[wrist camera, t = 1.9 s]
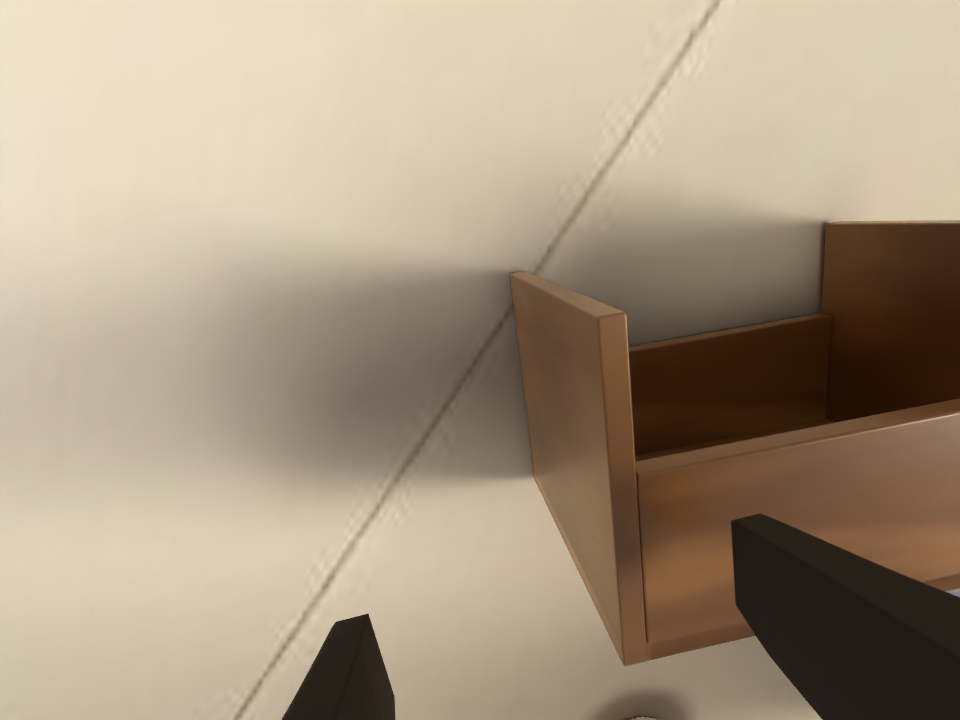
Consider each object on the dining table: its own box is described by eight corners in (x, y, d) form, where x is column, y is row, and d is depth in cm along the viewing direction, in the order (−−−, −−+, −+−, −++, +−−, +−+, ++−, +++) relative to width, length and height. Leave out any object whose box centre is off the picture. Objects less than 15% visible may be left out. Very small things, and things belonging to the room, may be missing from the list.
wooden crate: (535, 480, 20) (509, 273, 18) (827, 423, 22) (839, 221, 19) (623, 667, 12) (596, 316, 9) (1105, 556, 13) (1187, 217, 11)
